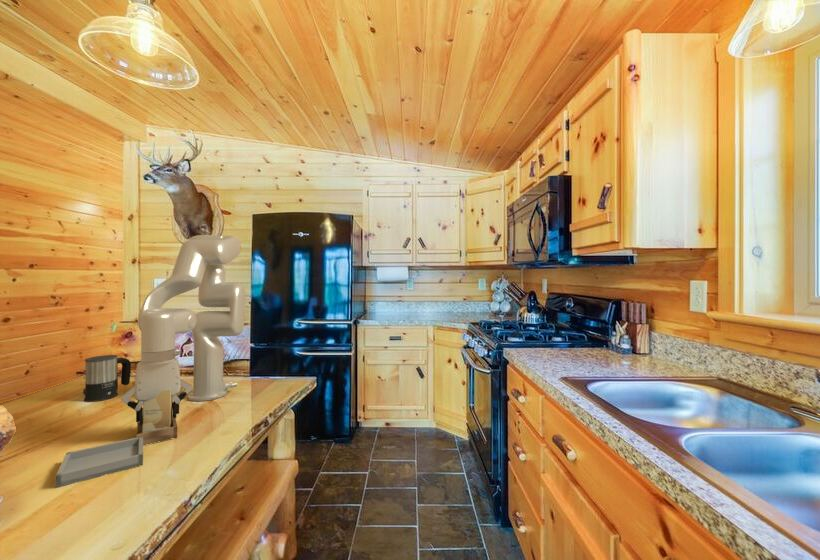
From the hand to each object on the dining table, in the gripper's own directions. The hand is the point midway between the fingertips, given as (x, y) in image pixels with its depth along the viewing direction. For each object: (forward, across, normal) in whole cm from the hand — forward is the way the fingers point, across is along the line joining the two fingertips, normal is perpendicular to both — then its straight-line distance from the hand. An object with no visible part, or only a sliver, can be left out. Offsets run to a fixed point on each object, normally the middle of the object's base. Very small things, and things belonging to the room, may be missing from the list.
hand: (158, 419), depth 93 cm
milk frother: (+5, +16, -54) cm, 56 cm away
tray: (+4, +10, +12) cm, 16 cm away
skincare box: (+4, 0, 0) cm, 4 cm away
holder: (+4, 0, +1) cm, 4 cm away
